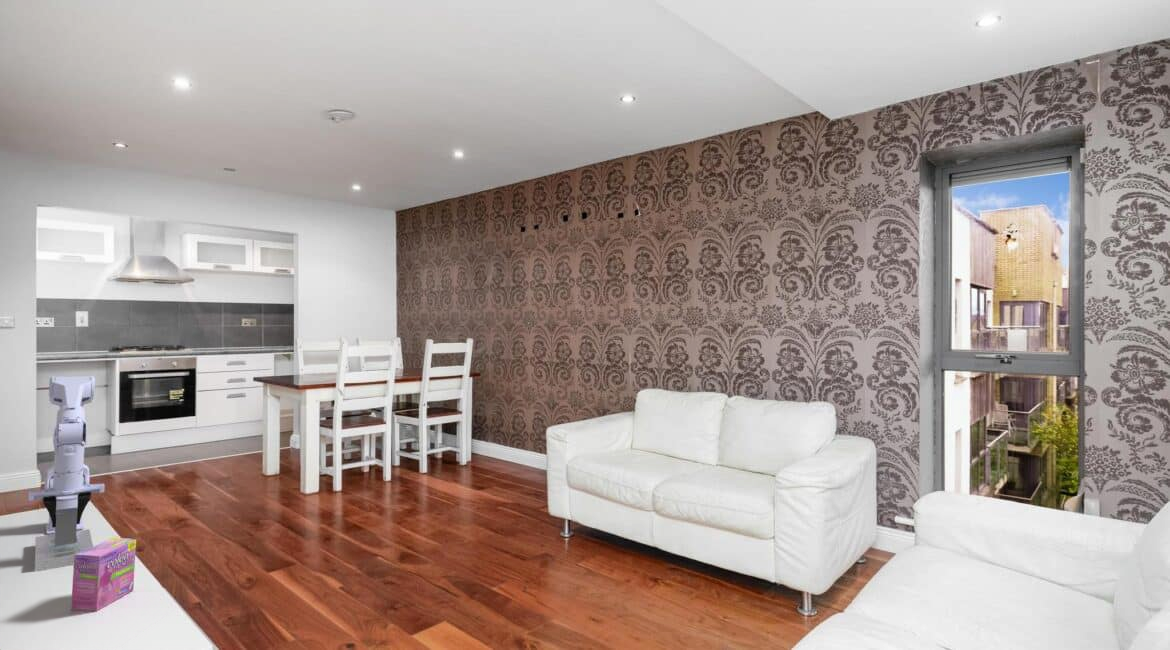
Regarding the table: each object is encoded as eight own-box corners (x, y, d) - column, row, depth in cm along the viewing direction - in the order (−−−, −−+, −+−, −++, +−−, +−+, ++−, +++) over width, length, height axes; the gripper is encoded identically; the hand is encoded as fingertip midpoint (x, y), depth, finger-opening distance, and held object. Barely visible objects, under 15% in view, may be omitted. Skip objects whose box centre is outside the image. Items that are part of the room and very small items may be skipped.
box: (96, 612, 128) (99, 555, 128) (70, 610, 128) (73, 554, 128) (134, 590, 138) (137, 538, 138) (109, 589, 138) (112, 537, 138)
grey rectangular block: (54, 541, 154) (56, 509, 154) (75, 538, 157) (76, 507, 157) (54, 546, 151) (56, 514, 151) (75, 543, 154) (77, 511, 154)
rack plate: (35, 546, 161) (35, 536, 161) (88, 538, 168) (89, 528, 168) (34, 571, 146) (35, 560, 146) (93, 561, 153) (94, 550, 153)
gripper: (29, 477, 146) (26, 534, 146) (106, 470, 156) (103, 523, 156) (29, 471, 151) (27, 526, 151) (104, 465, 161) (101, 516, 161)
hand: (65, 524), depth 154 cm, fingers closed on grey rectangular block, 4 cm apart
